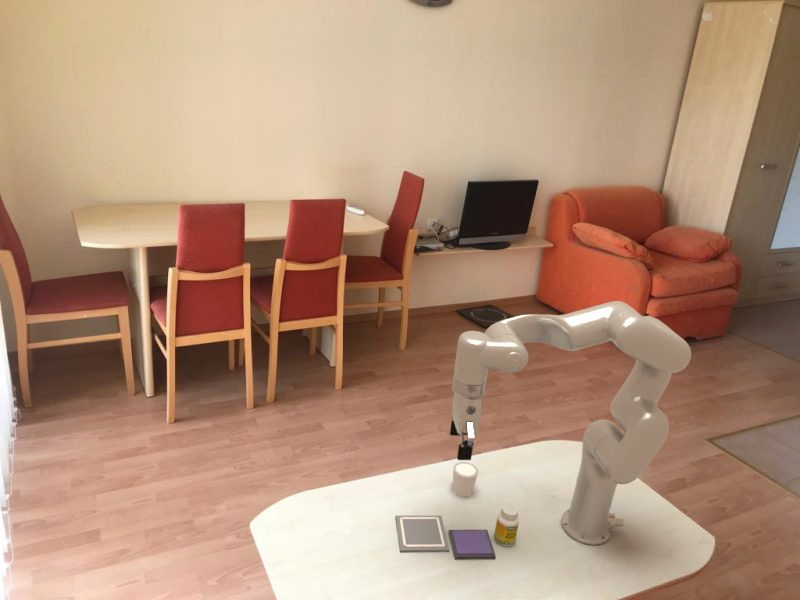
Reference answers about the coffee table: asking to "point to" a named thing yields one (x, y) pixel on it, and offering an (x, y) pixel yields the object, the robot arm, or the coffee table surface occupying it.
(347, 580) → the coffee table surface
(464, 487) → the white short cylinder
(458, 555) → the ink pad
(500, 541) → the supplement bottle
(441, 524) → the grey square tile
